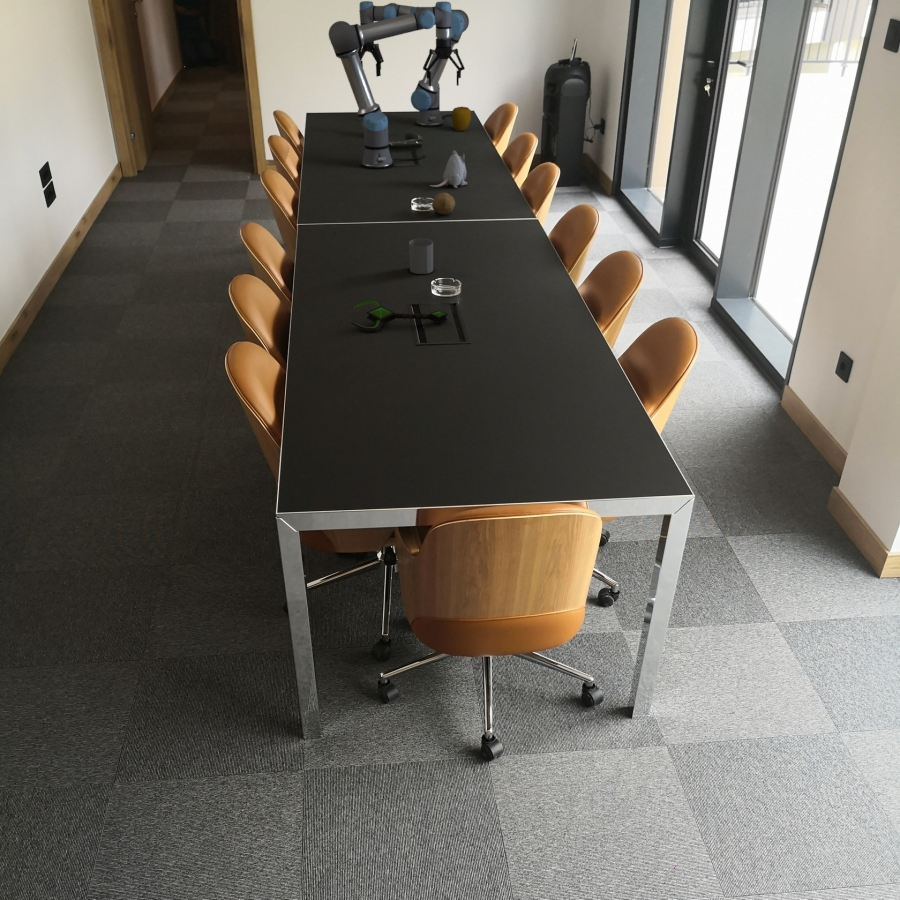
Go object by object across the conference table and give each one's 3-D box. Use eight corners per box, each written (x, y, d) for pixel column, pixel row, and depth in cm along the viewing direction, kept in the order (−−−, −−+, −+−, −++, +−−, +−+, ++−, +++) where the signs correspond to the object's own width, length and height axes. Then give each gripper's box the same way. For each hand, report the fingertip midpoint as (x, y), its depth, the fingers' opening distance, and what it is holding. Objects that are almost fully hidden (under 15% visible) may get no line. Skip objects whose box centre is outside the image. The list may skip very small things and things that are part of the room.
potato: (453, 208, 369) (453, 189, 365) (456, 218, 357) (456, 199, 353) (431, 208, 368) (430, 189, 364) (432, 218, 356) (432, 199, 352)
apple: (471, 132, 486) (471, 108, 479) (451, 132, 486) (451, 108, 479) (470, 128, 495) (471, 104, 488) (452, 128, 495) (452, 104, 488)
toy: (472, 184, 399) (472, 151, 391) (436, 195, 384) (436, 161, 376) (457, 180, 404) (458, 147, 396) (422, 191, 389) (421, 157, 381)
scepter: (447, 295, 270) (351, 293, 268) (448, 326, 263) (349, 324, 261) (446, 308, 275) (351, 306, 273) (447, 339, 268) (350, 337, 266)
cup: (409, 265, 311) (408, 238, 306) (432, 265, 312) (431, 238, 307) (410, 274, 304) (409, 246, 299) (433, 273, 305) (433, 246, 299)
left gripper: (468, 36, 418) (468, 83, 430) (417, 37, 416) (418, 84, 428) (470, 38, 412) (469, 86, 423) (418, 39, 410) (418, 87, 422)
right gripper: (346, 31, 478) (349, 73, 490) (379, 35, 465) (381, 78, 476) (356, 30, 483) (358, 71, 494) (389, 34, 470) (390, 76, 481)
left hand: (443, 85), depth 426 cm, fingers open, 13 cm apart
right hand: (369, 74), depth 485 cm, fingers open, 13 cm apart
